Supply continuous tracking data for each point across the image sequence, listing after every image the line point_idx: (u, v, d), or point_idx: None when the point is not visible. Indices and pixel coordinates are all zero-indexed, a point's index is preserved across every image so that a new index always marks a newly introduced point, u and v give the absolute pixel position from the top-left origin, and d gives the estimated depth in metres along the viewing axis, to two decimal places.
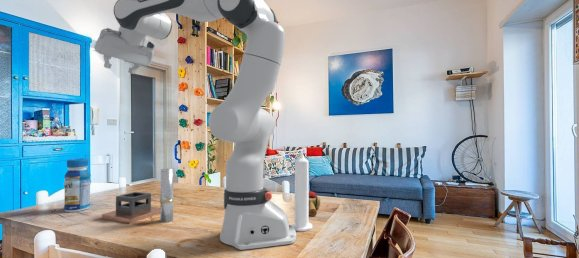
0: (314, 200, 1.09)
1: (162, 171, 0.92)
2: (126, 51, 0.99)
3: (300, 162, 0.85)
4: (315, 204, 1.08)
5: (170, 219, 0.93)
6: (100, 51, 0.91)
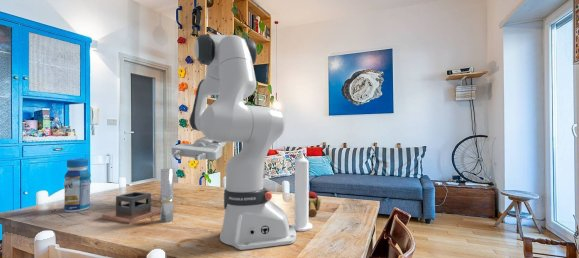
0: (314, 200, 1.08)
1: (162, 171, 0.92)
2: (194, 147, 1.13)
3: (300, 162, 0.85)
4: (315, 204, 1.08)
5: (170, 219, 0.93)
6: None
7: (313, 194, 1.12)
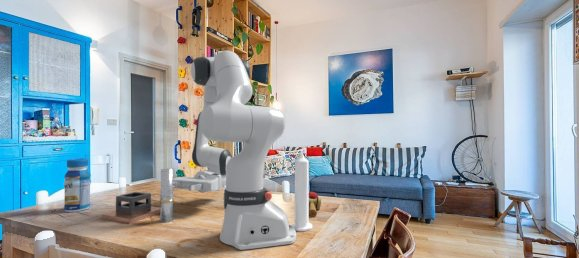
0: (315, 201, 1.08)
1: (162, 171, 0.92)
2: (192, 179, 1.07)
3: (300, 162, 0.85)
4: (316, 205, 1.07)
5: (170, 219, 0.93)
6: None
7: (314, 194, 1.11)
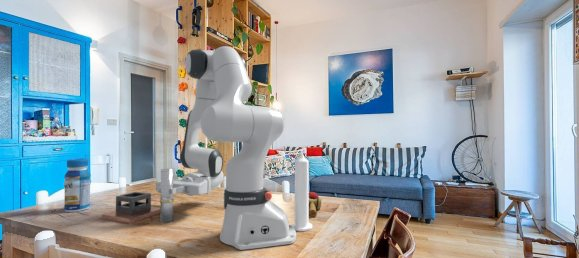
0: (315, 201, 1.07)
1: (162, 171, 0.92)
2: (179, 181, 1.01)
3: (300, 162, 0.85)
4: (316, 205, 1.07)
5: (170, 219, 0.93)
6: (157, 181, 1.02)
7: (314, 195, 1.11)
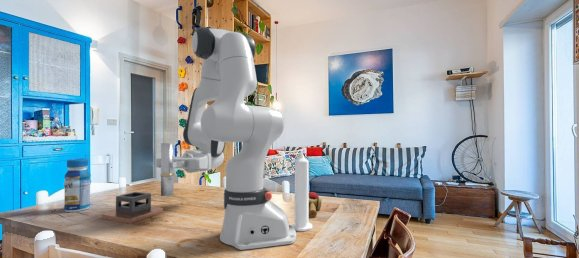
0: (315, 201, 1.07)
1: (162, 145, 0.92)
2: None
3: (300, 162, 0.85)
4: (316, 205, 1.06)
5: (171, 193, 0.92)
6: (157, 158, 1.01)
7: (314, 195, 1.11)
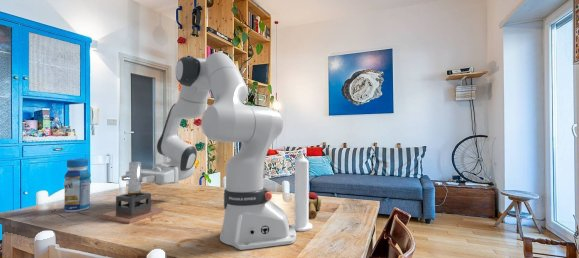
0: (315, 201, 1.06)
1: (130, 164, 0.99)
2: (148, 171, 1.07)
3: (300, 162, 0.85)
4: (316, 205, 1.06)
5: None
6: (127, 171, 1.07)
7: (314, 195, 1.10)
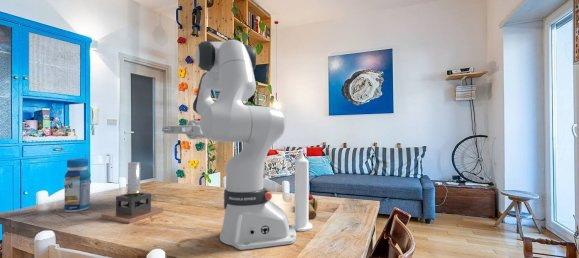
0: (311, 202, 1.06)
1: (129, 164, 0.98)
2: None
3: (300, 162, 0.85)
4: (312, 206, 1.05)
5: None
6: None
7: (309, 195, 1.10)
